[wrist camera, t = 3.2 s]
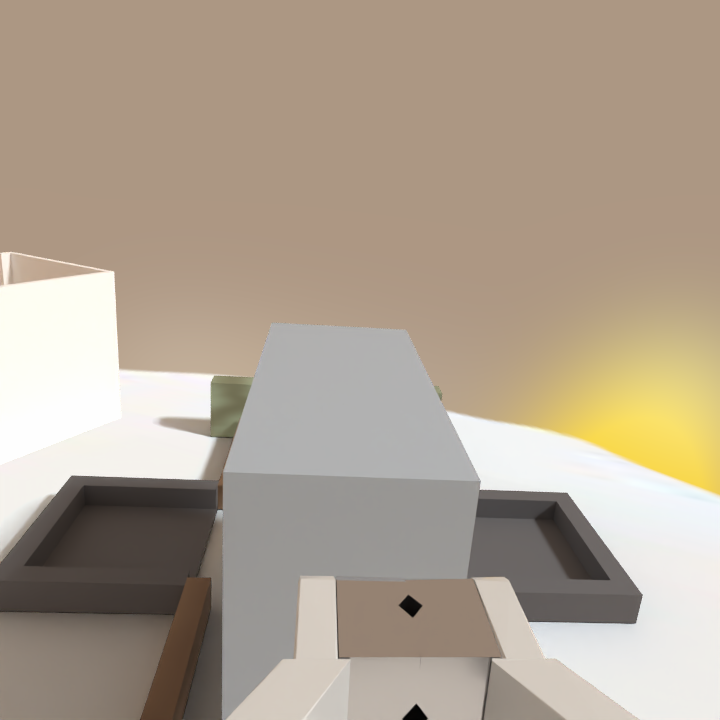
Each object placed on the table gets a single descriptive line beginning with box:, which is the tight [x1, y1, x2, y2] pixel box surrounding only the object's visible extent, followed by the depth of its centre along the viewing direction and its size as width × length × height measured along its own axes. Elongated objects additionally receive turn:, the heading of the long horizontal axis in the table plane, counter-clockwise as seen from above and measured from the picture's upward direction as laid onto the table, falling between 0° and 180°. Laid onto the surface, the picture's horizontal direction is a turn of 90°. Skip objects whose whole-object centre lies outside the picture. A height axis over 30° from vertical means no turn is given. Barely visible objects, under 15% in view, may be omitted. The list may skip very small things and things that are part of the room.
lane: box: [140, 376, 442, 720], centre depth 32 cm, size 16×27×4 cm, turn 3°
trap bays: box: [0, 476, 643, 623], centre depth 31 cm, size 28×9×2 cm, turn 93°
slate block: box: [222, 323, 481, 720], centre depth 23 cm, size 6×14×12 cm, turn 3°
